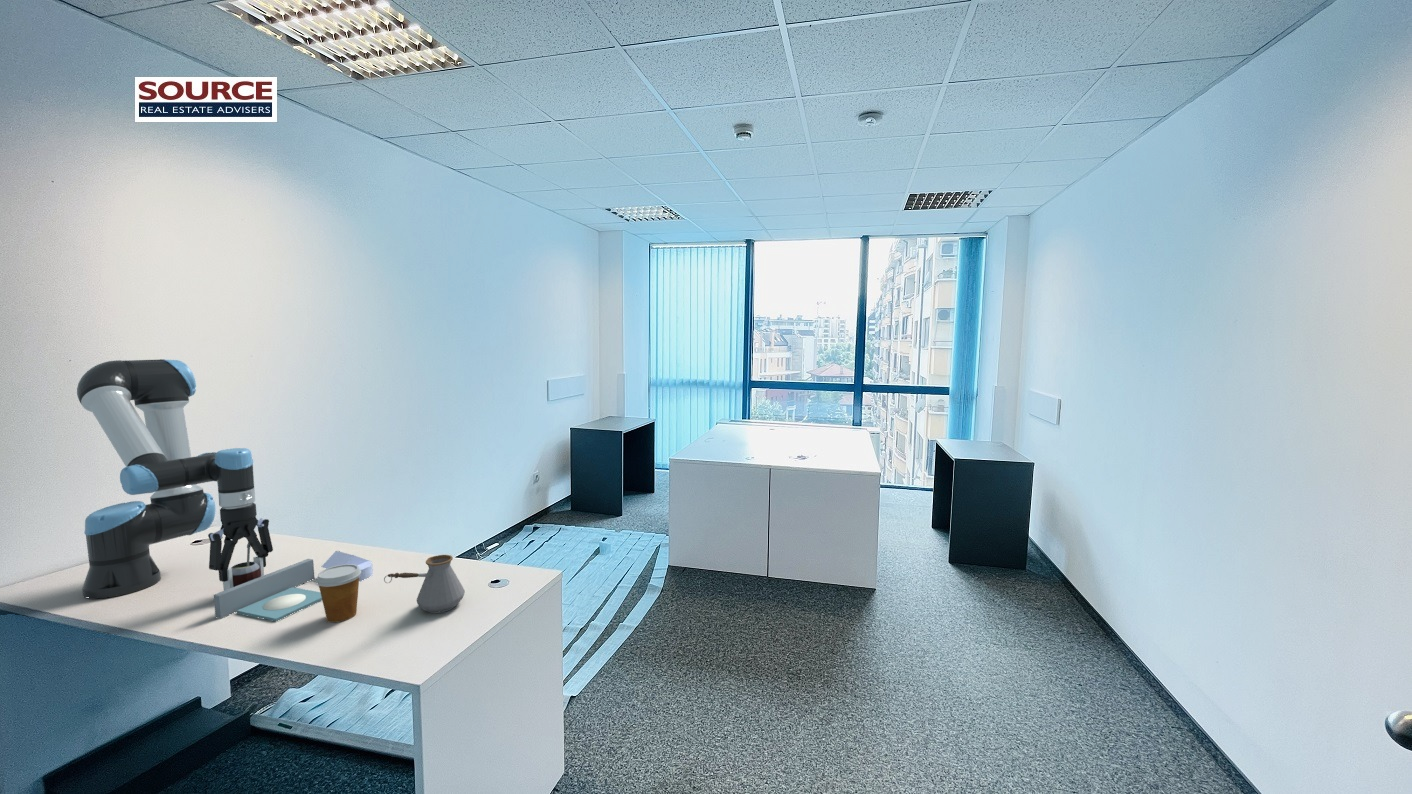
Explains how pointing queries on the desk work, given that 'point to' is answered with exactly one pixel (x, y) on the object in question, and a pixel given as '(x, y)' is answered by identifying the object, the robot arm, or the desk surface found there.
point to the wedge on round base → (345, 558)
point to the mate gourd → (245, 570)
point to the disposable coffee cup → (339, 591)
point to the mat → (282, 604)
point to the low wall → (262, 587)
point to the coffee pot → (437, 585)
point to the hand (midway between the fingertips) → (244, 585)
